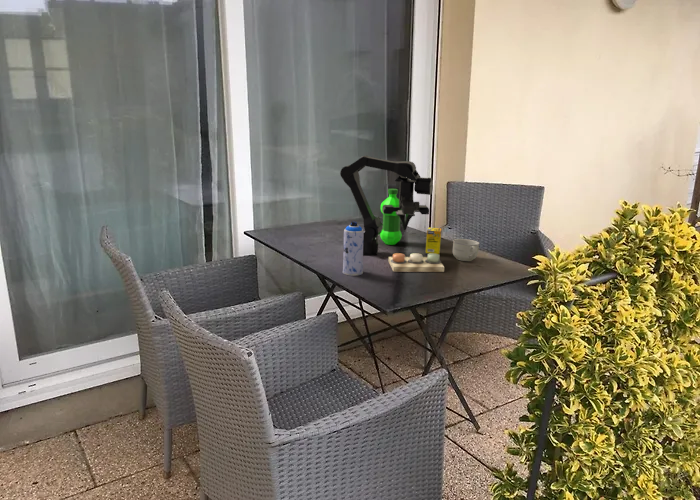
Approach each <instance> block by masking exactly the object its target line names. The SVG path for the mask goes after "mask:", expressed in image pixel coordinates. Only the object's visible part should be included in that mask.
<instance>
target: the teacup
mask: <svg viewBox="0 0 700 500" xmlns="http://www.w3.org/2000/svg"><path fill="white" fill-rule="evenodd" d="M452 242H453V243H452V254H453V257H454V258H456V260H459V261H463V262H471V261H473V260H475V259H476V258H477V257H478V255H479V247H480V242H479V241H477V240H473V239H469V238H468V239H467V238H456V239H453V240H452Z"/></svg>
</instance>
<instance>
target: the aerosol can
mask: <svg viewBox="0 0 700 500" xmlns="http://www.w3.org/2000/svg"><path fill="white" fill-rule="evenodd" d="M364 232H365V230H364V228H363V227H361V226H360V225H359V224H358V222H357V221H355V220H351V222H350V224H349V225H347V226H346V227H345V228H344V230H343V256H342V257H343V258H342V259H343V261H342V274H343V275H346V276H352V277H353V276H356V277H357V276H360V275H363V273H364V271H363V267H364V265H363V262H364V255H363V238H364Z"/></svg>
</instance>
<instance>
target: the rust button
mask: <svg viewBox="0 0 700 500" xmlns="http://www.w3.org/2000/svg"><path fill="white" fill-rule="evenodd" d="M392 257H393V261H394V262H404V261H405V257H406V255H405V253H399V252H396V253H395V252H394V253H393V254H392Z"/></svg>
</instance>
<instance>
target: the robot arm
mask: <svg viewBox="0 0 700 500" xmlns="http://www.w3.org/2000/svg"><path fill="white" fill-rule="evenodd" d="M365 167H367V168H368V167H370V168H374V169H379V170H384V171H388V172H392V173H394V174H396V175H398V177H397V178H396V179H394V181H395V182H399V191H398V192H399V193H398V194H399V197H398V199H399V207H393V206H392V205H383V207H382V211H383V213H384V214H392V213H393V212H396V214H397V216H399V217H400V219H401V220H400V224H401V226H402V229H403V231H406V230H407V227H408V225H409V223H410V222H411V221H410V220H411V219H412V217H415V216H416V214H415V213H420V214H421V215H430V208H429V206H427V205H426V204H424V205H423V204H422V205H421V204H420V201H414V193H416V194H417V195H427V196H431V195H432V193H433V188H434V185H433V181H432V180H433V177H421V176H420V174H419V172H418V171H417V166H416V164H415V162H414V161H406V160H405V161H399V160H398V161H393V160H388V159H382V158H378V157H373V156H368V155H363V156H360V158H358V159H357V160H355V161H354V162H353V163H351V164H349V165H346V166H344V167H341V170H340V172H339V174H340V178H341V179H342V181H343V182H344V184H345V185H346V186H348V188H349V189H350V191H351V194H352V196H353V199H354V200H355V202H356V206H357V207H358V210H359V212H360V214H361V217H362V221H363V230H364V238H363V256H377V255H378V250H379V249H378V247H379V246H378V245H379V243H378V240H377V238H378V237H379V236H380V233H381V232H382V229H383V222H381V217H380V216H377V217H376V216H375V215H374V214H373V210H372V209H371V206H370V204H369V201H368V200H367V197H366V195H365V193H364V190H363V187H362V185H361V181H360V179H361V178H360V174H359V173H360V171H362V170H363V169H364V168H365ZM401 209H402V210H401ZM383 213H382V214H383Z"/></svg>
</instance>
